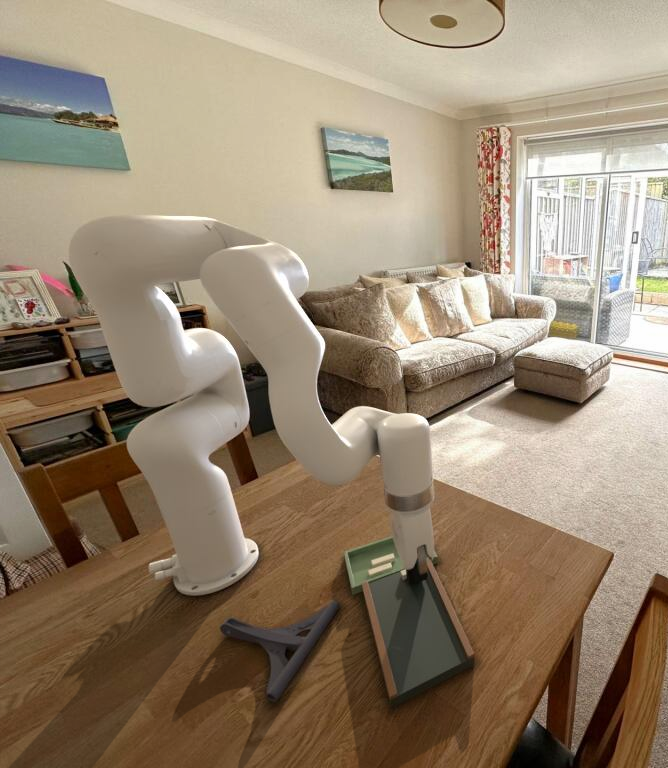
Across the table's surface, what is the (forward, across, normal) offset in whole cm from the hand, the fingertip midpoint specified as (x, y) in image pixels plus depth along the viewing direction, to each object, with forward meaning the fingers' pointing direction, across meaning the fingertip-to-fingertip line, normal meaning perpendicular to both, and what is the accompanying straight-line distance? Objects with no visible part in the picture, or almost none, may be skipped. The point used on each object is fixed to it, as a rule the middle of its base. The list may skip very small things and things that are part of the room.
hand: (417, 578), depth 70 cm
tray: (+2, -8, -3) cm, 9 cm away
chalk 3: (0, -2, 0) cm, 2 cm away
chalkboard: (+2, +7, -3) cm, 8 cm away
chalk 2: (+1, -6, -5) cm, 8 cm away
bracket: (+2, -1, -23) cm, 23 cm away
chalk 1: (+1, -8, -4) cm, 9 cm away
